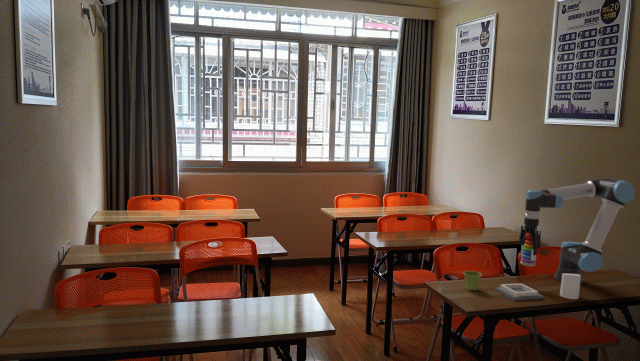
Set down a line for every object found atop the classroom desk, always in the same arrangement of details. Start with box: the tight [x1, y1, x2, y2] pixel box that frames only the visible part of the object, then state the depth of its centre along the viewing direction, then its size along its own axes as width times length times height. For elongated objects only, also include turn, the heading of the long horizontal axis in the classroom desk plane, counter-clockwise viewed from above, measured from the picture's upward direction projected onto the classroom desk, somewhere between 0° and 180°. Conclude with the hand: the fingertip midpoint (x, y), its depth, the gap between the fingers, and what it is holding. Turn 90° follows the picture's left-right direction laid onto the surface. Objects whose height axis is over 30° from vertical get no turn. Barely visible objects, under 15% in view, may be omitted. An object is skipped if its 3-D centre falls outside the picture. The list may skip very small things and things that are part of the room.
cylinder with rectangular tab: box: [559, 273, 581, 300], centre depth 274 cm, size 9×9×12 cm
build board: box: [494, 282, 544, 302], centre depth 273 cm, size 18×16×4 cm
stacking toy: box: [519, 232, 536, 267], centre depth 285 cm, size 8×8×19 cm
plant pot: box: [463, 270, 483, 292], centre depth 277 cm, size 9×9×9 cm
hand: (528, 258), depth 285 cm, fingers closed on stacking toy, 7 cm apart
